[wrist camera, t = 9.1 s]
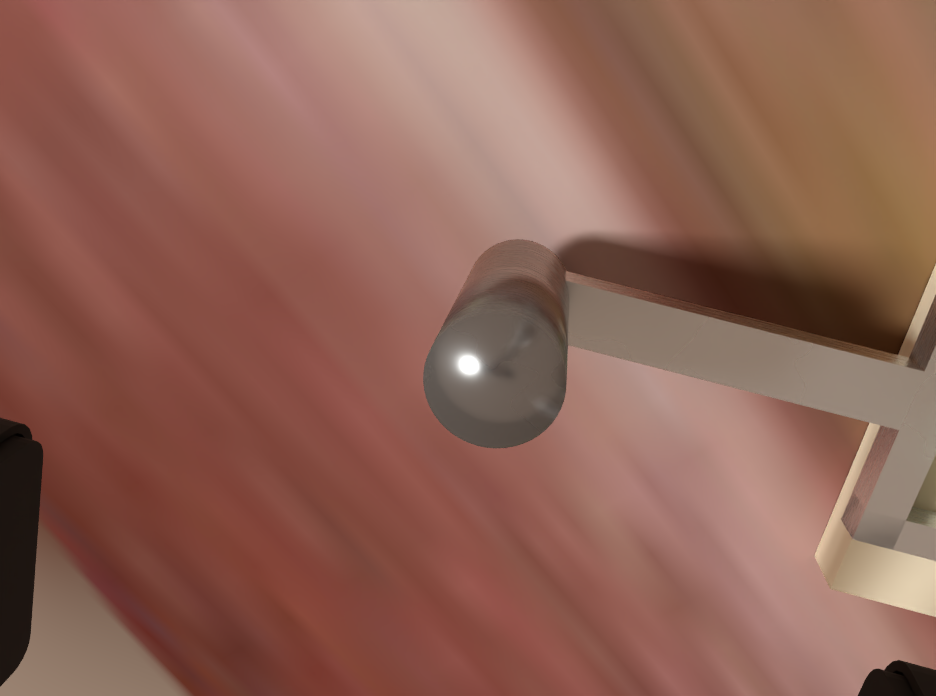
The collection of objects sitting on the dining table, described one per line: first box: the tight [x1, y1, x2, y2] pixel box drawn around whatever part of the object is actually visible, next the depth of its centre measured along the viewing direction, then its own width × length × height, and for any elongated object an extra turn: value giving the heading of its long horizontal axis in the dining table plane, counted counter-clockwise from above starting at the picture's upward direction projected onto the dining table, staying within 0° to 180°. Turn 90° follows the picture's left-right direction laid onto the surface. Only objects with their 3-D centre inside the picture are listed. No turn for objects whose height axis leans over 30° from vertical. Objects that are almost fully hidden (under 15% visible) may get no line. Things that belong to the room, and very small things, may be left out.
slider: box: [423, 239, 936, 561], centre depth 22 cm, size 22×9×8 cm, turn 77°
